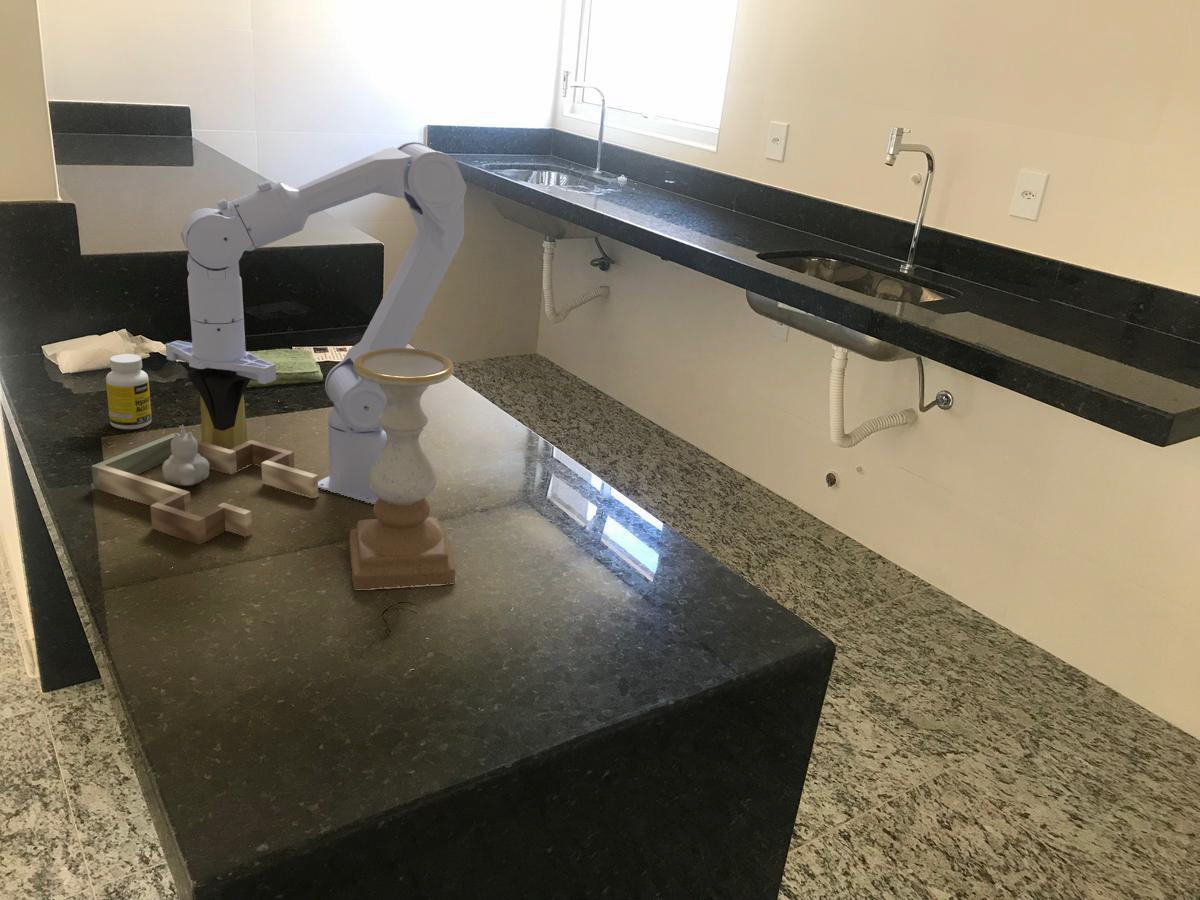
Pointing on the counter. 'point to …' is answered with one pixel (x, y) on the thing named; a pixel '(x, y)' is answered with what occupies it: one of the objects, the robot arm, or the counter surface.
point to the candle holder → (401, 479)
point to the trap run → (175, 503)
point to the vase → (226, 437)
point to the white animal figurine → (185, 461)
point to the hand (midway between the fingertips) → (224, 427)
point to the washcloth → (289, 366)
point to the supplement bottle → (128, 393)
